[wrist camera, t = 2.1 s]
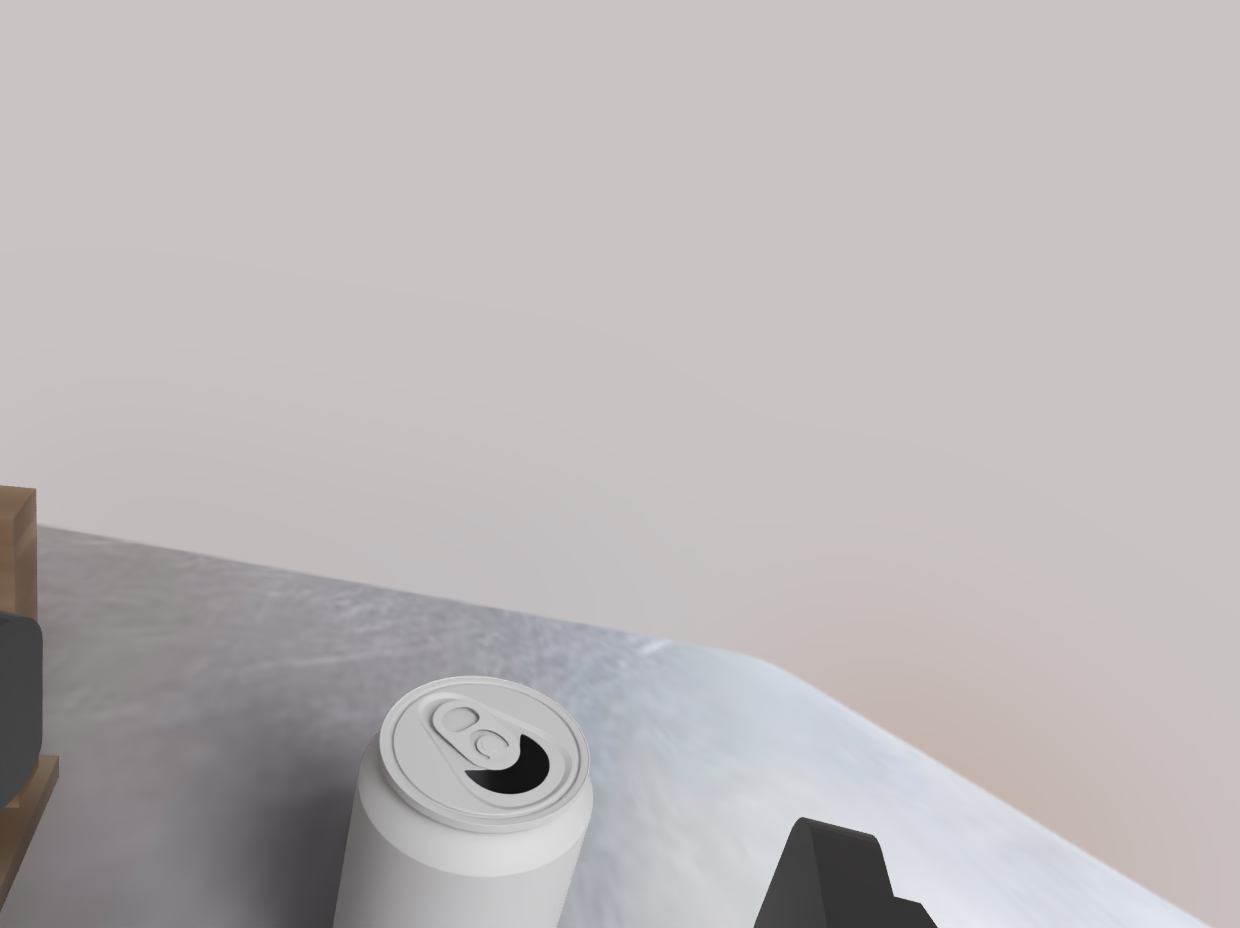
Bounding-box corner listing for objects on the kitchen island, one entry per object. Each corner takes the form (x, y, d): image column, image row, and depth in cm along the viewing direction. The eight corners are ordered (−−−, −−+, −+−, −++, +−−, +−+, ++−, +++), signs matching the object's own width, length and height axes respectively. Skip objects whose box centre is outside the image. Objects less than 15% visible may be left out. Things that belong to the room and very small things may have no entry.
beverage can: (409, 1202, 23) (492, 884, 19) (268, 1032, 26) (312, 723, 22) (557, 1034, 28) (650, 753, 24) (426, 908, 31) (487, 638, 27)
